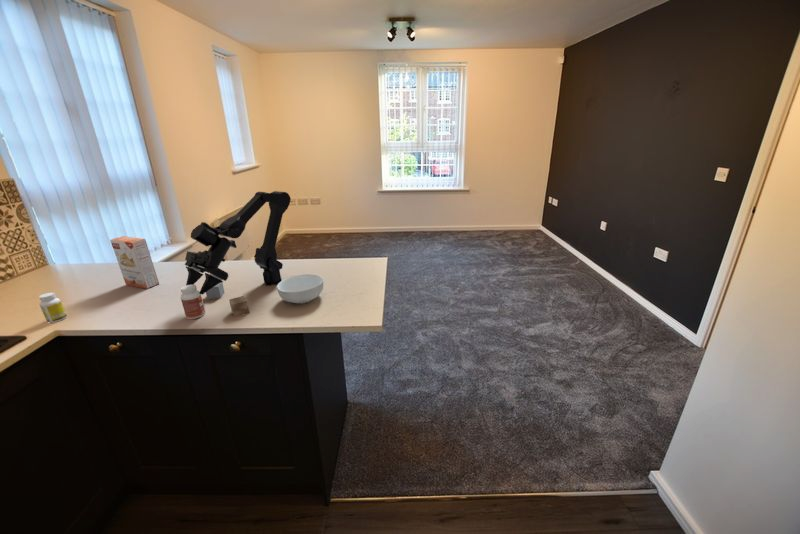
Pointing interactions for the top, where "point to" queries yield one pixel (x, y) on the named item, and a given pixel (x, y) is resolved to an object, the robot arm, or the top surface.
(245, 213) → the robot arm
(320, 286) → the cereal bowl
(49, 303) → the supplement bottle
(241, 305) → the walnut cube
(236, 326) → the top surface
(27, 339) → the top surface
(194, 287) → the pill bottle
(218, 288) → the slate-grey cube
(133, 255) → the cracker box
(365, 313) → the top surface
